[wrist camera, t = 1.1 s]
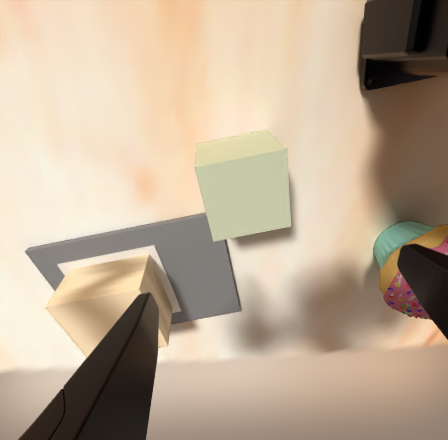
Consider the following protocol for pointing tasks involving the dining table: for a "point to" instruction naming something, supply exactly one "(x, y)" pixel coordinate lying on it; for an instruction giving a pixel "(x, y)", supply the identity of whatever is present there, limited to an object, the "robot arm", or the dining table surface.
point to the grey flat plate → (156, 262)
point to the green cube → (244, 184)
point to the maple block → (106, 299)
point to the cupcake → (388, 255)
